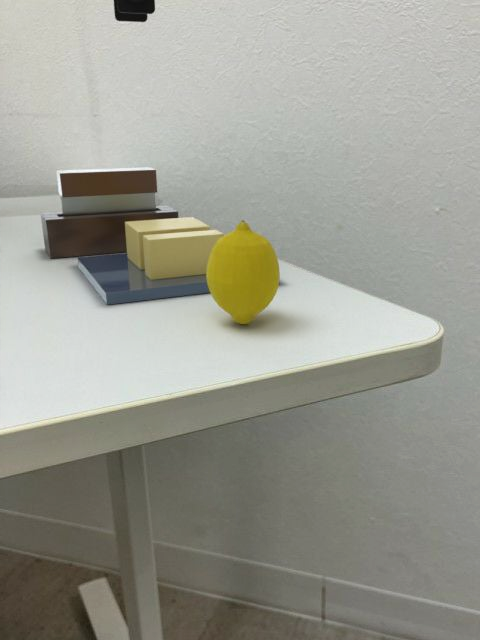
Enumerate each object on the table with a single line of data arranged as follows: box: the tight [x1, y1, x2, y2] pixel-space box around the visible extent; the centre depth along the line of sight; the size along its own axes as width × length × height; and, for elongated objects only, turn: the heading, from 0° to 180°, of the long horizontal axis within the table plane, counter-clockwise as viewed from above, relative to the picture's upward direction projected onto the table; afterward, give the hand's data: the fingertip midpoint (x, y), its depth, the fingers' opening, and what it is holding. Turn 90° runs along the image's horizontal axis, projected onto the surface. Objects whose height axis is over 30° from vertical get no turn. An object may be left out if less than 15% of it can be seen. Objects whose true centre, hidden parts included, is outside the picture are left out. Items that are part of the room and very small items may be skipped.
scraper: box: [56, 166, 158, 217], centre depth 71 cm, size 10×2×8 cm, turn 116°
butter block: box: [125, 216, 211, 270], centre depth 64 cm, size 7×5×4 cm
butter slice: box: [143, 229, 225, 280], centre depth 60 cm, size 7×2×4 cm, turn 116°
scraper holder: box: [40, 205, 179, 259], centre depth 72 cm, size 14×4×4 cm, turn 116°
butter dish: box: [76, 252, 211, 306], centre depth 63 cm, size 16×13×1 cm
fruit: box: [206, 219, 281, 325], centre depth 50 cm, size 6×6×8 cm
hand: (133, 17), depth 62 cm, fingers open, 9 cm apart
